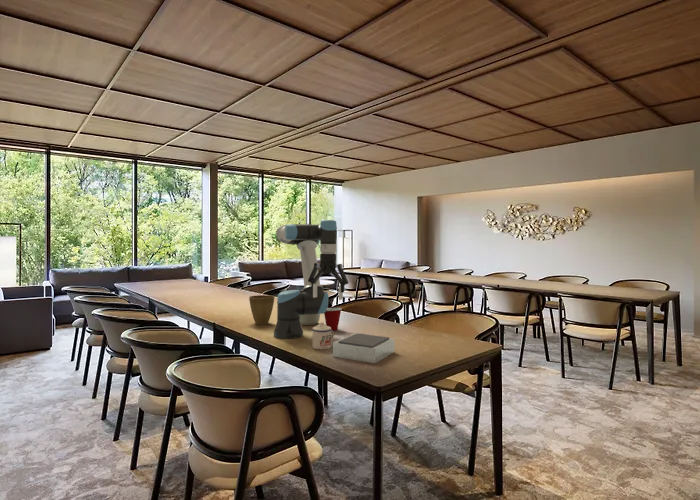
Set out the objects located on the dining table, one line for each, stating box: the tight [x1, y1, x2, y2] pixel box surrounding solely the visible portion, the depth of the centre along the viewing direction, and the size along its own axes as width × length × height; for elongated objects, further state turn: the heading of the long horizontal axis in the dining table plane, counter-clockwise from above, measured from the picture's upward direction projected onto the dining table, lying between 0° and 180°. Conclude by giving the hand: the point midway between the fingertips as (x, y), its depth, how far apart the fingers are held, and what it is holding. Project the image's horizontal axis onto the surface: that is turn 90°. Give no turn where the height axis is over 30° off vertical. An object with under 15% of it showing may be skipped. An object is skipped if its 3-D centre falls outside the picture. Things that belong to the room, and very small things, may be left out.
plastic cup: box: [323, 307, 343, 332], centre depth 236 cm, size 11×11×12 cm
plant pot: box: [248, 294, 275, 325], centre depth 252 cm, size 15×15×16 cm
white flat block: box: [332, 332, 395, 364], centre depth 189 cm, size 20×25×7 cm
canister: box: [300, 314, 321, 326], centre depth 252 cm, size 18×18×21 cm
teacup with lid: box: [311, 321, 335, 351], centre depth 199 cm, size 12×9×12 cm
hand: (327, 298), depth 199 cm, fingers open, 13 cm apart
